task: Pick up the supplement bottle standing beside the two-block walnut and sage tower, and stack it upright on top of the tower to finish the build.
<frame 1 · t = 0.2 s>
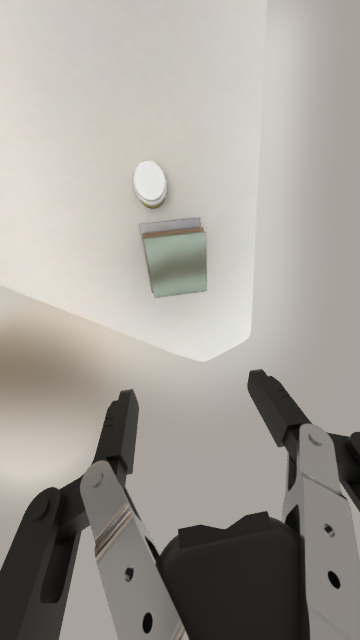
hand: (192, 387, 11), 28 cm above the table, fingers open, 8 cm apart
supplement bottle: (151, 192, 29), on the table
baseplate: (173, 257, 34), on the table
brick tower: (175, 262, 30), on the baseplate, point 5 cm above the table
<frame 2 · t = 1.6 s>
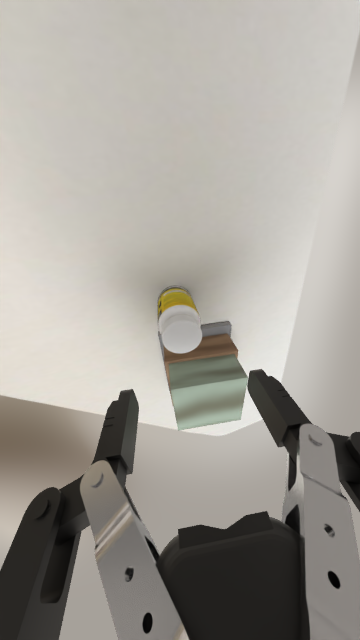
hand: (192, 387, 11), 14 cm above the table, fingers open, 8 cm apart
supplement bottle: (174, 301, 23), on the table
baseplate: (195, 357, 29), on the table
brick tower: (202, 380, 25), on the baseplate, point 5 cm above the table
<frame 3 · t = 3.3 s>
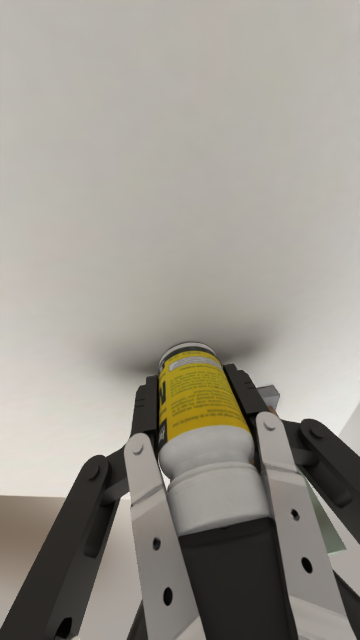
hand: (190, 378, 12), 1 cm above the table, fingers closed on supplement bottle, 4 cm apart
supplement bottle: (187, 362, 13), on the table, touching gripper
baseplate: (216, 430, 19), on the table
brick tower: (233, 491, 15), on the baseplate, point 5 cm above the table
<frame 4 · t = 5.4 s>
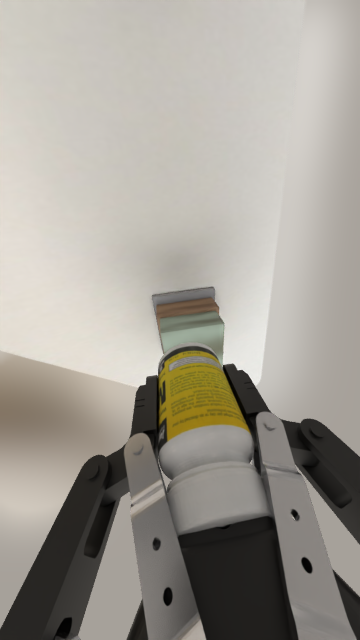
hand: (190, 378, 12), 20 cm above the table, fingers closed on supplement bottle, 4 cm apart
supplement bottle: (187, 362, 13), point 18 cm above the table, touching gripper
baseplate: (185, 321, 33), on the table
brick tower: (190, 337, 29), on the baseplate, point 5 cm above the table
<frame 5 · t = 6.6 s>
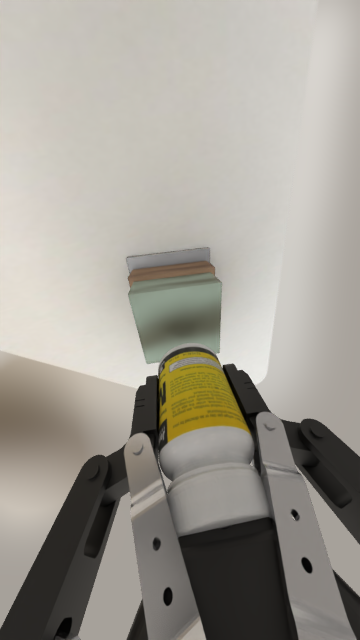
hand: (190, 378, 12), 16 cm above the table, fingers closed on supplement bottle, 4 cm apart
supplement bottle: (187, 363, 13), point 14 cm above the table, touching gripper
baseplate: (173, 296, 26), on the table
brick tower: (176, 311, 22), on the baseplate, point 5 cm above the table
when the fingers open (12 cm above the table, at t = 7.7 s): supplement bottle drops 1 cm, resting on brick tower.
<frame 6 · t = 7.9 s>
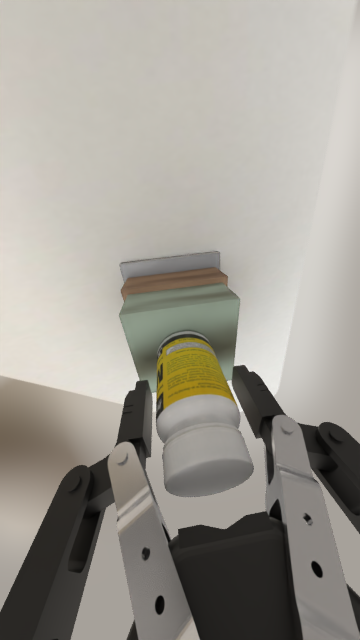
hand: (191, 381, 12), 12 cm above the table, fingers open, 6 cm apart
supplement bottle: (184, 351, 15), point 9 cm above the table, touching brick tower
baseplate: (175, 308, 22), on the table
brick tower: (180, 328, 18), on the baseplate, point 5 cm above the table
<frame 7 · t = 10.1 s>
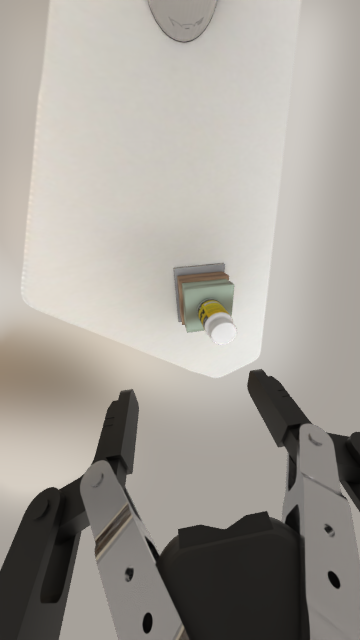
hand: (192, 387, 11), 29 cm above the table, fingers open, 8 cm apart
supplement bottle: (208, 309, 32), point 9 cm above the table, touching brick tower
baseplate: (199, 293, 40), on the table
brick tower: (204, 301, 35), on the baseplate, point 5 cm above the table
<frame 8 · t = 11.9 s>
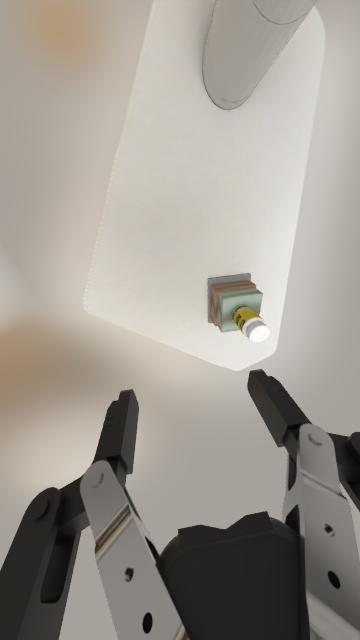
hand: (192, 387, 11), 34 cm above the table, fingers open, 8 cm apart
supplement bottle: (240, 313, 39), point 9 cm above the table, touching brick tower
baseplate: (227, 298, 47), on the table
brick tower: (234, 306, 42), on the baseplate, point 5 cm above the table
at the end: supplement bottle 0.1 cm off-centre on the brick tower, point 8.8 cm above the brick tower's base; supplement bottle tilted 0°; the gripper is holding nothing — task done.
